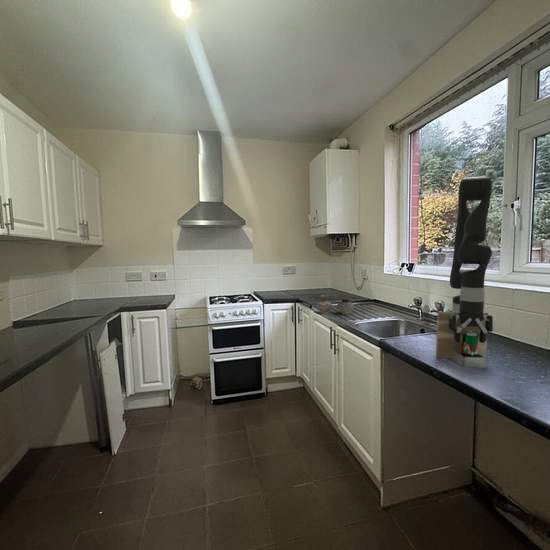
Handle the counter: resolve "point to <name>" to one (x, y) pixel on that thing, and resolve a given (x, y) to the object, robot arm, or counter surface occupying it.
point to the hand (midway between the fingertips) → (469, 342)
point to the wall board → (447, 336)
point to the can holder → (469, 360)
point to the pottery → (344, 306)
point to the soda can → (469, 343)
